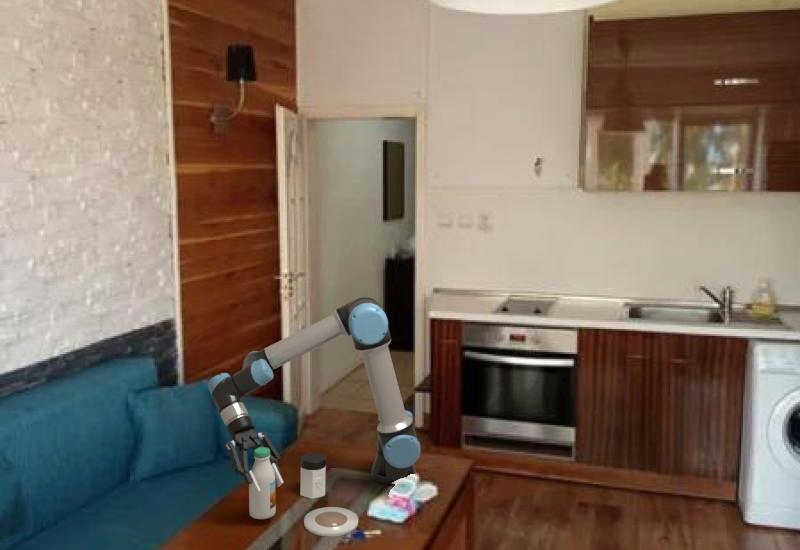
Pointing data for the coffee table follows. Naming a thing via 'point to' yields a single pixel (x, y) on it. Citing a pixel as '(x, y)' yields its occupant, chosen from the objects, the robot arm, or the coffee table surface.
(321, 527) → the trivet
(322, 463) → the jar
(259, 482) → the milk bottle
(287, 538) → the coffee table surface
